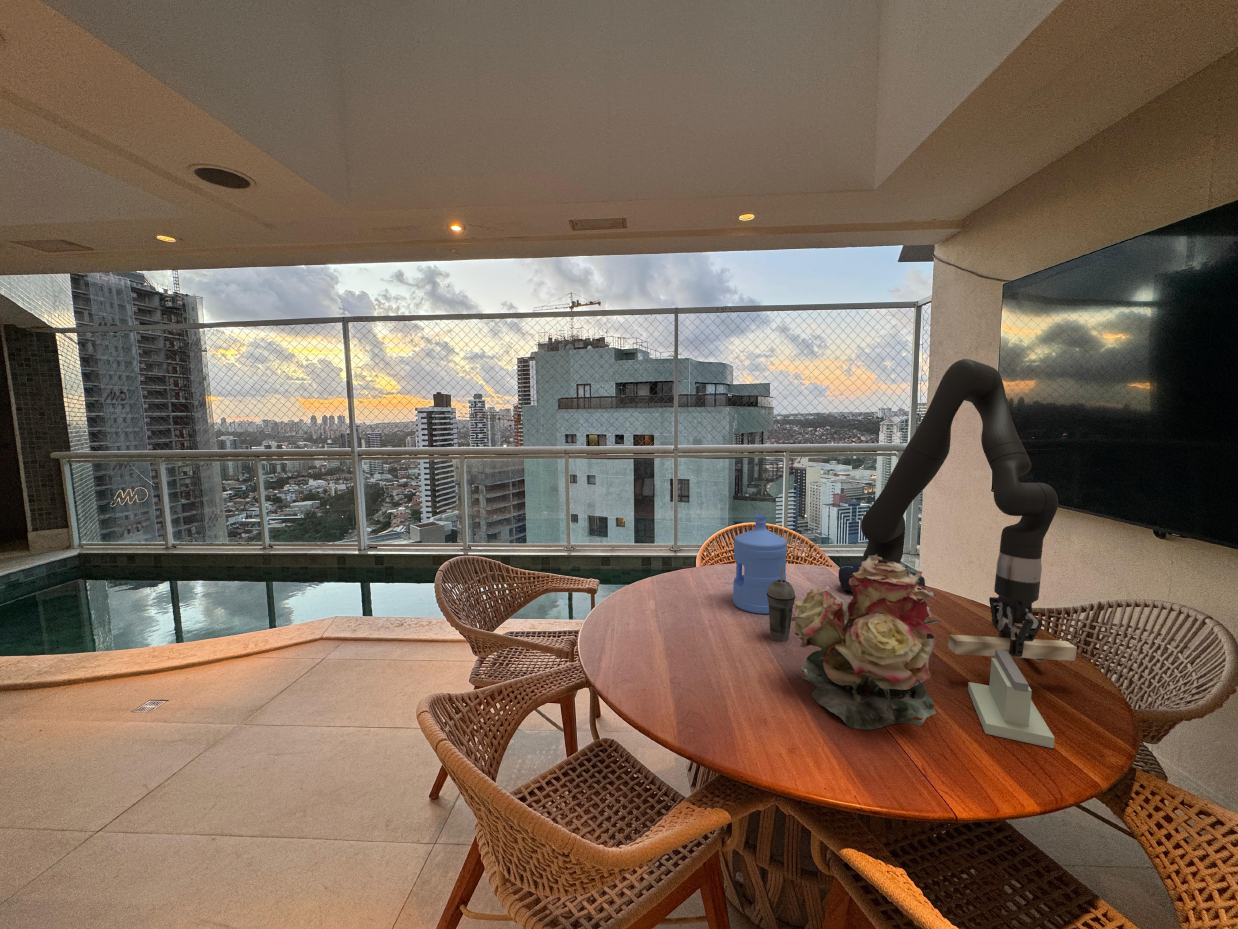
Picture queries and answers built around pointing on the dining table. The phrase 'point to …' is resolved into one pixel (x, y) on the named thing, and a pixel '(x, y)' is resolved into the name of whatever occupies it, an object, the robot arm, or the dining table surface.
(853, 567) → the portable speaker
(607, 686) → the dining table surface
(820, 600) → the rose bouquet
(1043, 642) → the bar
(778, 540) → the water jug
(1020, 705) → the stand
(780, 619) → the beverage cup
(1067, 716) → the dining table surface
